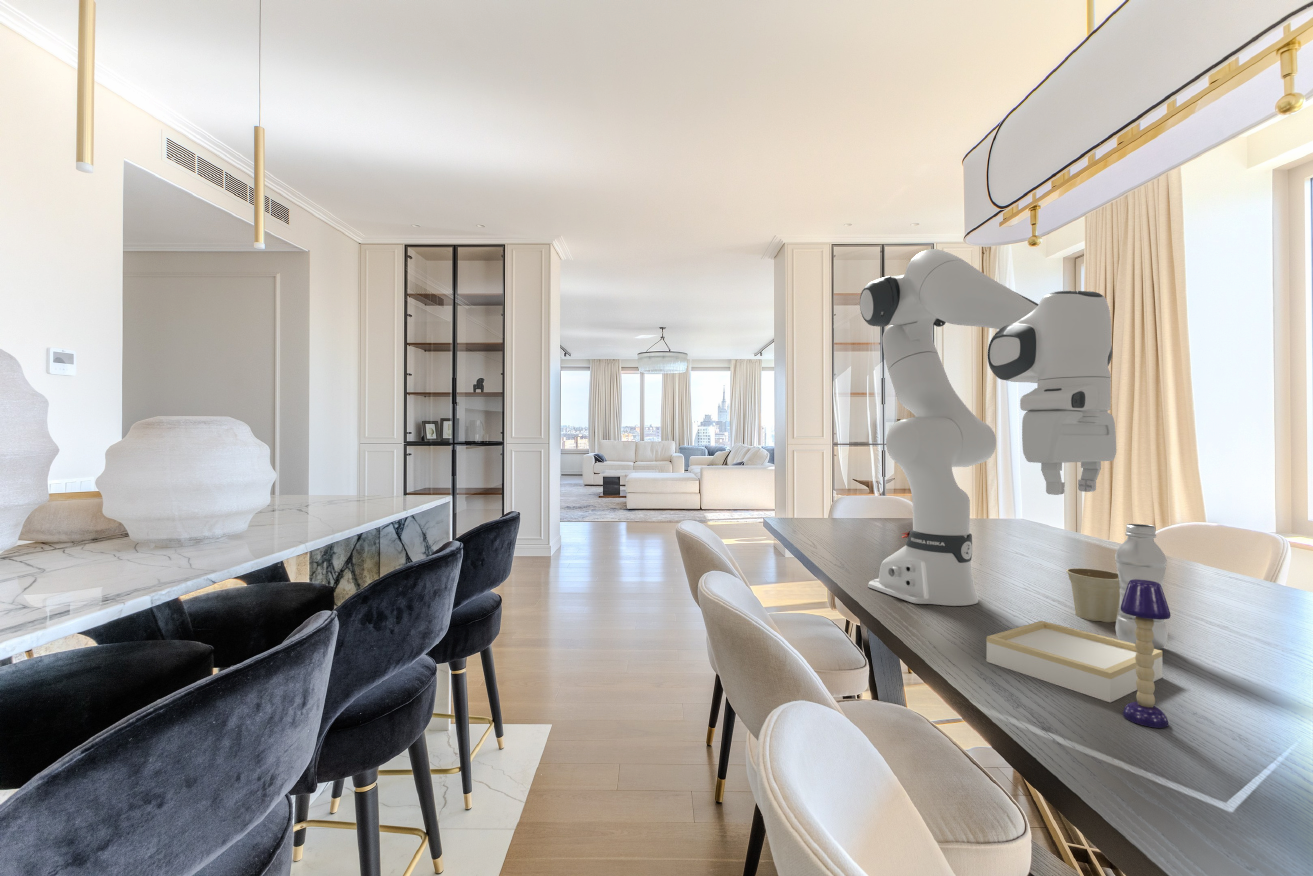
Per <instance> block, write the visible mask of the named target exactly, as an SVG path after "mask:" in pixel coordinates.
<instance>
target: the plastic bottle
mask: <svg viewBox="0 0 1313 876" xmlns="http://www.w3.org/2000/svg"><path fill="white" fill-rule="evenodd" d="M1125 527H1126V528H1125V534H1124V535H1125V536H1127V539H1126V540H1125V541H1124V542H1122V544H1121V545H1119V547H1118V548H1117V549H1116V552H1115V555H1114V558H1115V559H1114V560H1115V565H1116V571H1117V572H1116V573H1118V577H1119V587H1120V600H1119V608H1118V614H1117V619H1116V621H1115V627H1114V629H1115V634H1116V638H1117V639H1118V640H1121V641H1125V642H1129V643H1133V644H1135V643H1136V640H1137V638H1136V635H1135V630H1136V628H1137V625H1136V623H1135V617H1136V616H1131V615H1128V614H1125V613H1123V612H1122V611H1121V604H1122V601H1123V598H1124V595H1125V592H1126V589H1127V586H1128V583H1129V581H1130V580H1133V579H1139V580H1148V581H1154V582H1157V583H1159V584H1160V585H1161V587H1162V590H1163V591H1164V579H1165V574H1166V569H1167V563H1168V562H1167V561H1168V560H1167V558H1166V555H1165V553H1164V551H1163V550H1162V549H1161V547H1160V546H1159V545H1158V544H1157V543H1156V542H1155V539H1156V538H1157V534H1156V526H1155V525H1151V524H1141V523H1127V524H1126V525H1125ZM1153 620H1154V626H1153V628H1152V630H1153V633H1154V638H1153V640H1152V643H1153V646H1154V649H1157V650H1162V649H1163V648H1165V646H1167V644H1168V642H1167V641H1168V638H1169V634H1168V628H1167V625H1166V622H1165V619H1164V620H1158V619H1153Z"/></svg>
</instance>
